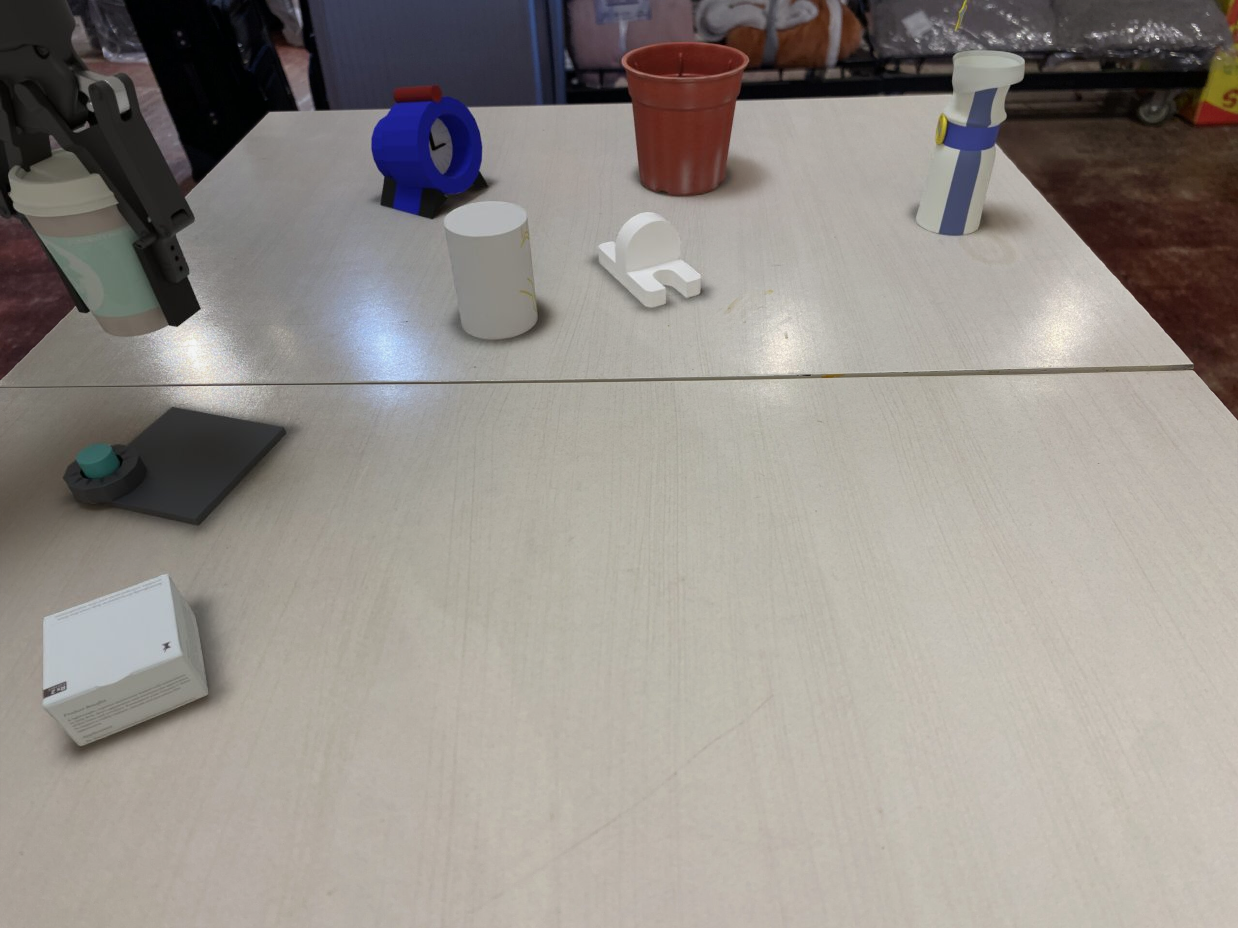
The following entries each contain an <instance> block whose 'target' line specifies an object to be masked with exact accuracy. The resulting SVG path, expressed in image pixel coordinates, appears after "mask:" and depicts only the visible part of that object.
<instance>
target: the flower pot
mask: <svg viewBox="0 0 1238 928" xmlns="http://www.w3.org/2000/svg"><path fill="white" fill-rule="evenodd" d="M749 63H750V58H749V56H748V55H747V54H746V53H745V52H743V51H742V50H739V49H738V48H735V47H732V46H727V45H722V44H718V43H712V42H711V43H709V42H701V41H672V42H663V43H662V42H661V43H656V44H655V43H654V44H649V45H645V46H641V47H638V48H635V49H632V50H630V51H629V52H627V53H625V54H624V55H623V56H622V58H621V66H622V67H623V68H622V69H624V70H625V73H626V81H627V90H628V94H629V96H630V98H631V107H632V115H633V125H634V126H633V127H634V133H635V135H634V136H635V145H636V156H637V164H638V165H637V166H638V172H639V173H638V174H639V175H638V176H639V181H640V183H641V184H642V185H643V186H644V187H646V188H647V189H649V190H651V191H653V192H655V193H659V192H660V191H664V192H666V193H668V195H670V196H686V197H688V196H696V195H702V194H704V193H708V192H712V191H714V190H716V189H717V187H718V186H719V184H723V183H724V181H725V176H726V170H727V165H728V164H727V163H728V157H729V151H730V145H731V137H732V131H733V124H734V118H735V111H736V105H737V99H738V96H739V95H740V93H741V88H742V82H743V74H744V70H745V69H746V68H747V67H748V65H749Z"/></svg>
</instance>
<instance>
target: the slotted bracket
mask: <svg viewBox="0 0 1238 928" xmlns="http://www.w3.org/2000/svg"><path fill="white" fill-rule="evenodd" d="M681 245H682V244H681V235H680V233H679V231H678V229H677V228H676V227H675V225H673V224H672V223H670V222H669V221H668V220H667V219H666V218H664V217H663V216H661V215H660V214H658V213H656V212H653V211H646V212H640V213H637V214H635V215H634V216H632V217H630V218H629V219H628V220H627V221H626V222H625V223H624V224H623V225H622V227H621V228H620V230H619V231H618V233H617V237H616V239H615V242H614V240H611V241H606V242H603V243H600V244H599V245H598V247H597V248H598V250H597V251H598V263H599V264H600V265H601V266H602V267H603V268H604V269H605V270H606V271H608V272H609V274H610V275H612V276H613V277H614V278H615V279H616V280H617V281H618V282H619V283H620V284H621V285H622V286H623V287H624V288H625V289H626V290H628V292H630V293H631V294H632V295H633V296H634V297H635V298H636V299H637V300H638V301H639V302H640V303H641V304H642V305H643V306H644V307H647V308H657V307H661V306H664V305H666V304H667V287H665V286H669V287H673V288H674V289H675V290H676V291H678V292H679V294H681V295H682V296H683V297H684V298H686V299H688V298H689V299H690V298H692V297H695V296H696V297H697V296H698V295H700V294H701V289H702V287H701V286H702V274H700V273H699V272H698V271H696V269H694V268H693V267H692V266H690V265H689V264H688V263H687V262H686V261H684V260H683V259H682V258H681V250H682V249H681V247H682V246H681Z"/></svg>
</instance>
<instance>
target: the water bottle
mask: <svg viewBox="0 0 1238 928" xmlns="http://www.w3.org/2000/svg"><path fill="white" fill-rule="evenodd" d="M967 2H968V0H964V1H963V4H962V7H961V9H960V10H959V11H958V19H957V22H956V25H955V28H954V32H957V30H958V28H961V26H962V23H963V18H964V15H965V13H966V11H967V10H968V9H967V8H968V5H967ZM952 65H953V71H952V79H951V83H952V89H953V92H952V96H951V97H950V100H949V103H948V104H947V105H946V106H945V107H944V109H943V110H942V113H941V114H940V115H939V117H938V121H937V125H936V130H935V144H936V145H935V147H934V149H933V153H932V156H931V160H930V164H929V169H928V172H927V175H926V176H927V177H926V181H925V185H924V188H923V192H922V196H921V199H920V203H919V205H918V210H917V213H916V216H915V222H916V223H917V225H918V226H920V227H921V228H922V229H924V230H926V231H929V232H931V233H934V234H940V235H945V236H964V235H968V234H972V233H974V232H976V231H977V230H978V229H979V228H980V224H981V220H982V214H983V209H984V205H985V200H986V196H987V192H988V188H989V184H990V181H991V177H992V173H993V169H994V166H995V162H996V156H997V148H996V142H997V138H998V135H999V131H1000V127H1001V124H1002V123H1003V122H1004V121H1006V119H1007V117H1008V116H1007V112H1006V109H1005V101H1006V97H1007V95H1008V91H1009V90H1010V87H1011V85H1015V84H1018V83H1020V82H1022V81H1023V79H1024V77H1025V69H1026V68H1025V66H1026V61H1025V58H1023V57H1022V56H1020V55H1018V54H1016V53H1012V52H1009V51H1008V52H1007V51H1002V50H983V49H979V50H977V49H975V50H965V51H960V52H957V53H955V54H954V55H952Z"/></svg>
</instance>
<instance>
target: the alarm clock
mask: <svg viewBox="0 0 1238 928" xmlns="http://www.w3.org/2000/svg"><path fill="white" fill-rule="evenodd" d="M392 96H393V100H394V102H395V104H394V105H392V106H391V108H390V109H389V111H388V112H387V114H386V115H385V116H383V117H381V118H380V119H379V120H378V121H377V123H376V124H375V126H374V128H373V131H372V134H371V146H370V147H371V155H372V158H373V162H374V164H375V166H376V168H377V170H378V171H379V172H380V173H381V175H382V176H383V183H382V191H381V196H380V197H381V198H380V206H383V207H386V208H389V209H394V210H397V211H401V212H405V213H409V214H411V215H416V216H419V217H423V218H427V219H430V220H433V219H434V218H435V217H436V216H437V214H438V212H439V211H440V210H441V209H442V207H444V205H445V203H446V202H447V201H448V200H449V196H447V195H457V194H461V193H464V192H466V190H468V189H469V188H470V187H472V186H476V187H486V188H487V187H488V188H489V187H490V186H489V184H488V183H487V181H486V179H485V178H484V176H483V174H482V173H481V171H480V169H481V166H482V162H483V141H482V135H481V130H480V128H479V125H478V123H477V121H476V118H475V117H474V114H472V112H471V110H470V109H469V108H468V107H467V106H466V105H465V104H464V103H463V102H461V101H460V100H459V99H457V98H455V97H451V96H447V95H446V96H443V91H442V89H441V88H440V86H439V85H437V84H434V85H433V84H431V85H420V86H419V85H417V86H405V87H396V88H394V90H393V93H392Z"/></svg>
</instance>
